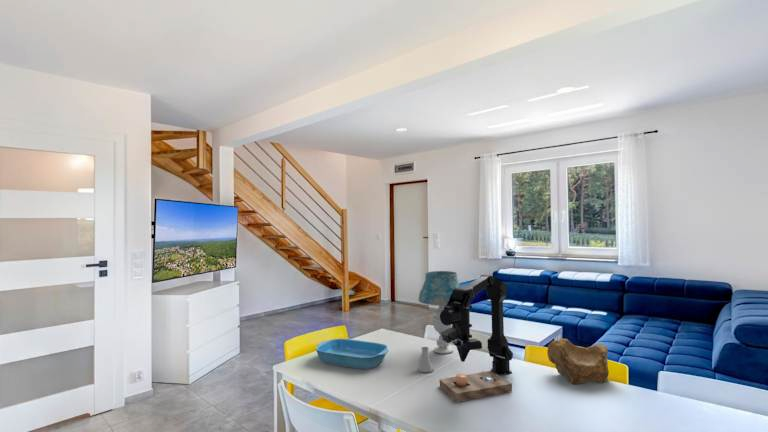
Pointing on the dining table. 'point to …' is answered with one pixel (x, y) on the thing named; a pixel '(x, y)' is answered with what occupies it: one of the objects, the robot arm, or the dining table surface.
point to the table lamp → (439, 301)
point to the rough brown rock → (579, 361)
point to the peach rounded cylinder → (461, 380)
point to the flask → (425, 362)
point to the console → (475, 386)
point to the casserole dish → (351, 353)
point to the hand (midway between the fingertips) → (462, 361)
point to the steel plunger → (487, 378)
